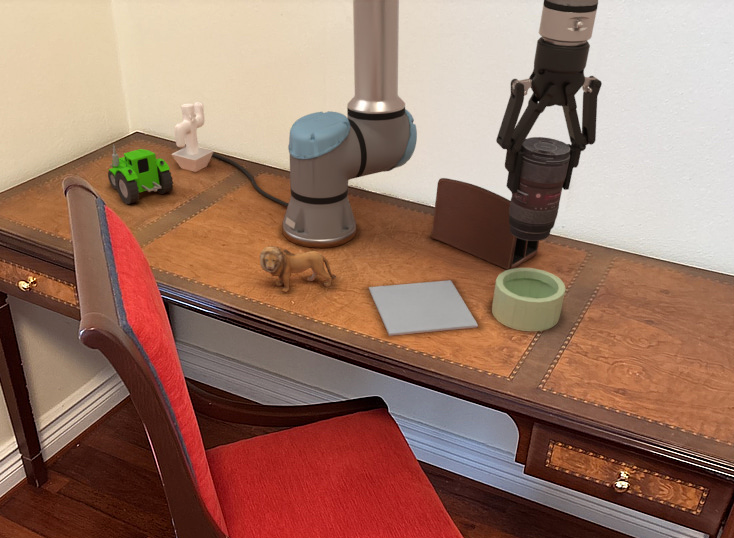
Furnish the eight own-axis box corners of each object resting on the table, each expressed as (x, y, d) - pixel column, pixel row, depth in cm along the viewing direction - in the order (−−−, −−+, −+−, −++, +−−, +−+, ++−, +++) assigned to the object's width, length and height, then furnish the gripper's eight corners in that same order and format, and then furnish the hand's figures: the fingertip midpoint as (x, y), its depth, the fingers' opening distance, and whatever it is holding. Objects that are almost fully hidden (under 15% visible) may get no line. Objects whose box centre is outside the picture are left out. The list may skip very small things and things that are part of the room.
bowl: (482, 299, 147) (486, 270, 144) (543, 293, 149) (549, 265, 146) (505, 334, 138) (510, 304, 134) (570, 328, 140) (576, 298, 136)
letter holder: (509, 271, 156) (520, 204, 147) (430, 238, 166) (436, 173, 157) (537, 254, 162) (549, 188, 153) (459, 223, 172) (466, 160, 163)
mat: (368, 289, 149) (368, 287, 149) (450, 282, 152) (451, 280, 152) (389, 336, 137) (389, 333, 136) (477, 327, 140) (478, 325, 139)
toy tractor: (141, 175, 188) (135, 133, 182) (179, 197, 179) (174, 153, 173) (99, 187, 182) (91, 144, 176) (135, 210, 173) (128, 166, 167)
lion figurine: (266, 300, 145) (264, 255, 140) (257, 286, 149) (254, 242, 143) (340, 285, 150) (341, 241, 144) (330, 272, 154) (330, 229, 148)
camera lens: (554, 246, 131) (572, 157, 121) (504, 240, 132) (518, 151, 122) (554, 224, 137) (571, 138, 128) (506, 219, 138) (520, 133, 129)
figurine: (169, 170, 191) (161, 107, 182) (194, 158, 198) (188, 96, 188) (193, 176, 188) (187, 112, 179) (218, 164, 195) (212, 101, 186)
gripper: (504, 48, 111) (483, 201, 125) (643, 44, 114) (607, 193, 129) (486, 33, 116) (468, 182, 130) (619, 30, 120) (587, 175, 134)
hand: (537, 187), depth 129 cm, fingers closed on camera lens, 8 cm apart
